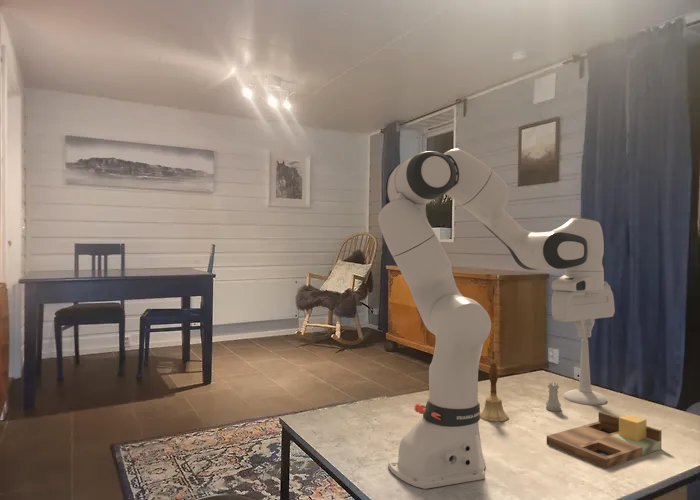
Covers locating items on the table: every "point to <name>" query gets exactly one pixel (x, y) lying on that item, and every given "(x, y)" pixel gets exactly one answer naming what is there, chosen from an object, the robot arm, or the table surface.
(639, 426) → the block
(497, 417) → the hand bell
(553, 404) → the rook chess piece
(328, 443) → the table surface
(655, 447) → the box
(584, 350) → the candlestick
